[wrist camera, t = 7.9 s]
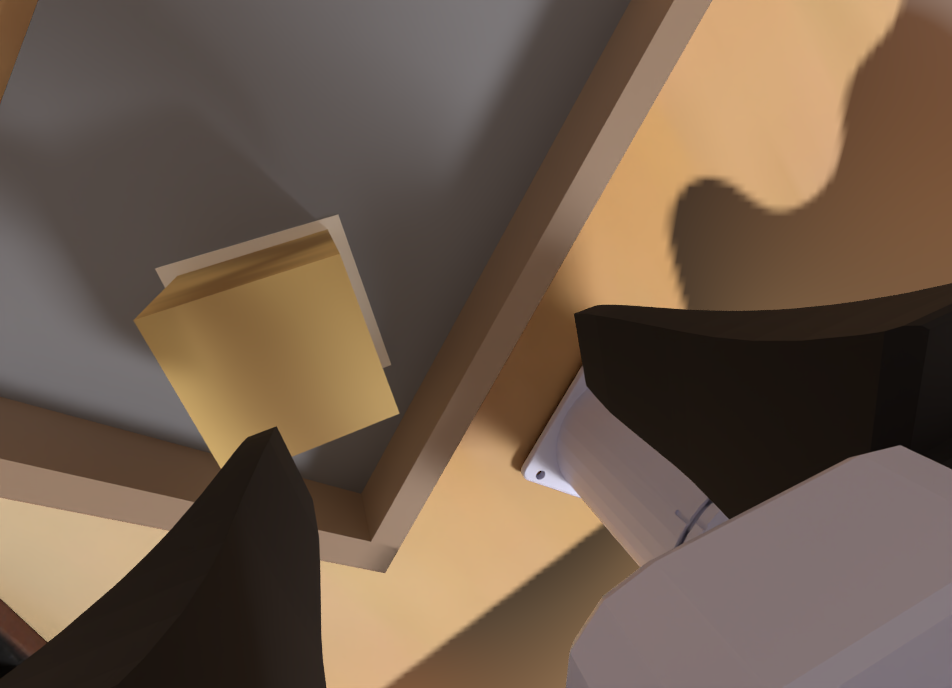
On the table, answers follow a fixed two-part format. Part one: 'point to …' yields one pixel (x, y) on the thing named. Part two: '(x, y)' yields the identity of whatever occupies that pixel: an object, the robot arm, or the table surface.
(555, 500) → the table surface
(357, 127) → the arena
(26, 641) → the letter holder
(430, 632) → the table surface
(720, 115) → the table surface
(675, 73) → the table surface
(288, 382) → the ochre block
